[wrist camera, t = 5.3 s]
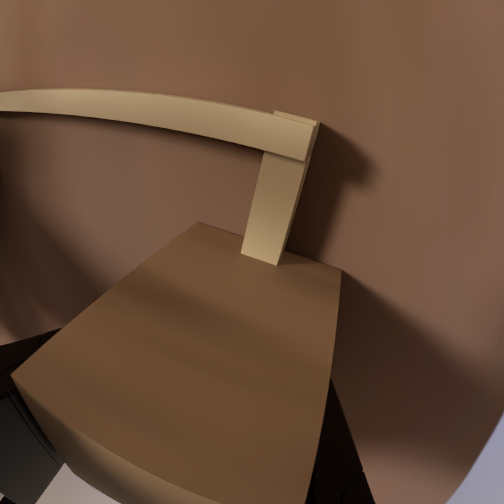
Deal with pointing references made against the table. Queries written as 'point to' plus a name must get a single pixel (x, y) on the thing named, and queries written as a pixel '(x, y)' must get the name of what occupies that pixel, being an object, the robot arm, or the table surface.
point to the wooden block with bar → (196, 334)
